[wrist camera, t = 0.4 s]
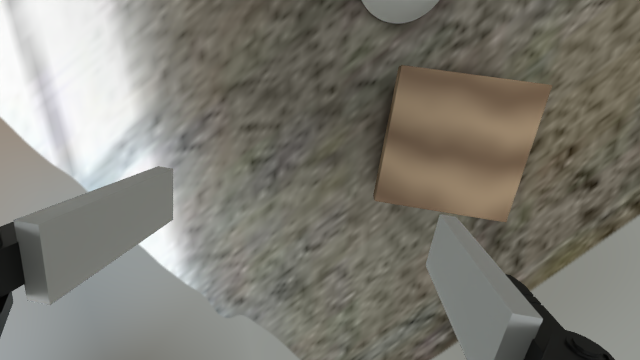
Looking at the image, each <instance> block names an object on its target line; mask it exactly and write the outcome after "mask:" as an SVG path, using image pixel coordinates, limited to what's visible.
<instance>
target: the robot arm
mask: <svg viewBox="0 0 640 360" xmlns="http://www.w3.org/2000/svg"><path fill="white" fill-rule="evenodd" d="M172 220H173V169H171V168H165V167H159V166H158V167H155V168H153V169H150V170H147V171H144V172H142V173H139V174H136V175H134V176H131V177H128V178H126V179H123V180H120V181H118V182H115V183H112V184H109V185H107V186H104V187H101V188H99V189H96V190H93V191H91V192H88V193H85V194H82V195H80V196H77V197H75V198H72V199H69V200H66V201H64V202H61V203H58V204H56V205H53V206H50V207H47V208H45V209H42V210H39V211H37V212H34V213H31V214H29V215H26V216H23V217H21V218H18V219H15V220H14V222H11V223H9V224H6V225H4V226H1V227H0V336H1V334H2V331H3V328H4V326H5V323H6V320H7V317H8V315H9V312H10V309H11V307H12V304H13V297H12V291H13V290H15V289H17V288H18V287H20V286H22V285H23V284H24V285H25V291H26V297H27V301H31V302H37V303H41V304H46V305H51V304H52V303H54V302H55V301H57V300H58V299H60V298H61V297H63V296H64V295H65V294H67V293H68V292H70V291H71V290H73V289H74V288H75V287H77V286H78V285H80V284H81V283H83V282H84V281H85V280H87V279H88V278H90V277H91V276H93V275H94V274H96V273H97V272H98V271H100V270H101V269H103V268H104V267H105V266H107V265H108V264H110V263H111V262H112V261H114V260H116V259H117V258H118V257H120V256H121V255H122V254H124V253H126V252H127V251H129V250H130V249H131V248H133V247H134V246H136V245H137V244H139V243H140V242H141V241H143V240H144V239H146V238H147V237H149V236H150V235H151V234H153V233H154V232H156V231H157V230H159V229H160V228H162V227H163V226H164V225H166V224H167V223H169V222H170V221H172ZM426 267H427V269H428V272H429V274H430V276H431V279H432V281H433V283H434V285H435V288H436V290H437V292H438V295H439V297H440V299H441V302H442V304H443V306H444V309H445V311H446V313H447V316H448V318H449V320H450V323H451V325H452V327H453V329H454V332H455V334H456V336H457V339H458V341H459V343H460V346H461V348H462V350H463V353H464V355H465V357H466V359H467V360H615V359H614V358H613V357H612V356H611V355H610V354H609V353H608V352H607V351H606V350H604V349H603V348H602V347H601V346H599V345H598V344H596V343H595V342H593V341H591V340H590V339H588V338H586V337H584V336H581V335H579V334H577V333H574V332H571V331H567V330H565V329H564V328H563V327H562V326H561V325H560V324H559V323H558V322H557V321H556V320H555V318H554V317H553V316H552V315H551V314H550V313H549V312H548V311H547V310H546V308H545V307H544V306H542V305H541V303H540V302H539V301H538V300H537V299H536V298H535V297H533V294H532V293H531V292H530V291H529V290H528V288H527V287H526V286H525V285H524V284H522V283H521V282H519V281H518V280H517V279H515V278H514V277H512V276H511V275H507V274H504V272H503V271H502V270H501V269H500V268H499V266H498V265H497V264H496V263H495V262H494V261H493V259H492V258H491V257H490V256H489V255H488V254H487V252H486V251H485V250H484V249H483V248H482V247H481V245H480V244H479V243H478V242H477V241H476V239H475V238H474V237H473V236H472V235H471V234H470V232H469V231H468V230H467V229H466V228H465V227H464V225H463V224H462V223H461V222H460V221H459V219H458V218H457V217H453V216H447V215H442V214H440V216H439V219H438V223H437V226H436V230H435V234H434V237H433V241H432V244H431V248H430V251H429V255H428V259H427V262H426Z"/></svg>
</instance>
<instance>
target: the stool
mask: <svg viewBox="0 0 640 360" xmlns="http://www.w3.org/2000/svg"><path fill="white" fill-rule="evenodd" d="M551 88H552V85H547V84H539V83H532V82H524V81H517V80H509V79H502V78H495V77H487V76H480V75H472V74H465V73H457V72H450V71H442V70H435V69H428V68H420V67H413V66H405V65H401V66H400V67H399V68H398V73H397V78H396V83H395V88H394V94H393V99H392V104H391V109H390V114H389V119H388V124H387V129H386V134H385V139H384V144H383V149H382V154H381V159H380V164H379V169H378V174H377V180H376V185H375V190H374V200H375V201H379V202H385V203H391V204H397V205H403V206H409V207H416V208H422V209H428V210H434V211H440V212H446V213H452V214H458V215H465V216H471V217H477V218H483V219H489V220H495V221H501V222H506V221H507V218H508V215H509V212H510V209H511V206H512V203H513V200H514V197H515V194H516V191H517V189H518V186H519V183H520V180H521V177H522V174H523V171H524V168H525V165H526V162H527V159H528V156H529V153H530V150H531V147H532V144H533V141H534V138H535V135H536V132H537V129H538V126H539V124H540V121H541V118H542V115H543V112H544V109H545V106H546V103H547V100H548V97H549V94H550V91H551Z"/></svg>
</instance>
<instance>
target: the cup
mask: <svg viewBox="0 0 640 360" xmlns="http://www.w3.org/2000/svg"><path fill="white" fill-rule="evenodd" d="M361 1H362V2H363V4H364V6H365V7H366V8H367V10H368V11H369V12H370V13H371V14H373V15H374V16H375V17H377V18H378V19H380V20H382V21H385V22H389V23H396V24H400V23H407V22H411V21H414V20H416V19H418V18H420V17H422V16H423V15H425V14H426V13H428V12H429V11H430V10H431V9H432V8H433V7H434V6H435V5H436V4H437V3H438V2H439V1H440V0H361Z"/></svg>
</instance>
